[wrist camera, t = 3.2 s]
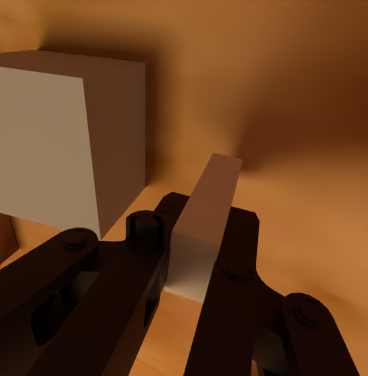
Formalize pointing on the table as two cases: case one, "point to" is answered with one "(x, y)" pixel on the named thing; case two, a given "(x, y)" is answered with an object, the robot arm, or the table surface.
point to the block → (71, 138)
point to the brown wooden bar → (6, 238)
